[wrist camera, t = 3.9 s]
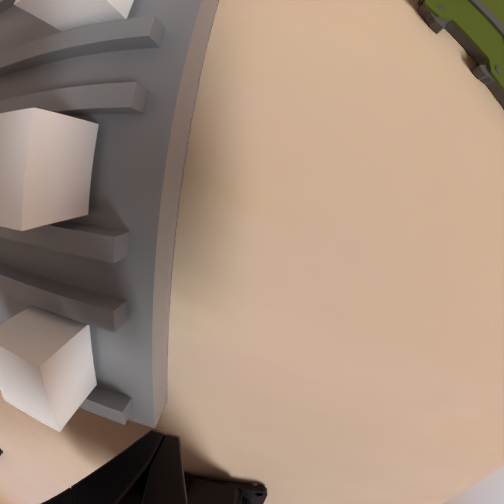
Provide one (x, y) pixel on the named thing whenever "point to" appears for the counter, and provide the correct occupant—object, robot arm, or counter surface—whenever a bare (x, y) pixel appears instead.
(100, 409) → the switch bank
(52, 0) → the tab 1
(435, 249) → the counter surface
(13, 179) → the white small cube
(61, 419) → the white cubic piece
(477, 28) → the gun
